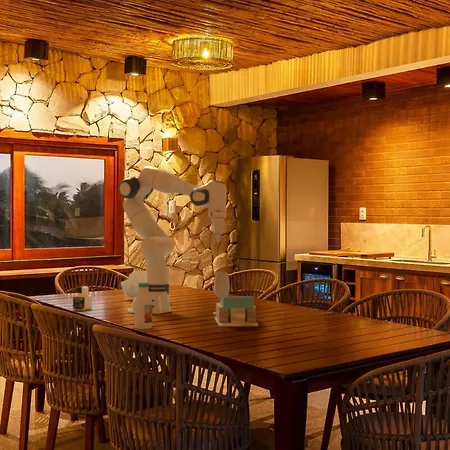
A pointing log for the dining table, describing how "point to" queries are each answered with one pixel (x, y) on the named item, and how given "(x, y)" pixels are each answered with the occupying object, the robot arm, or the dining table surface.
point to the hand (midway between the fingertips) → (216, 242)
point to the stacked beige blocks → (235, 316)
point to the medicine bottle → (82, 299)
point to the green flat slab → (237, 302)
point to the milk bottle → (143, 308)
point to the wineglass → (221, 285)
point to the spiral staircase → (134, 283)
